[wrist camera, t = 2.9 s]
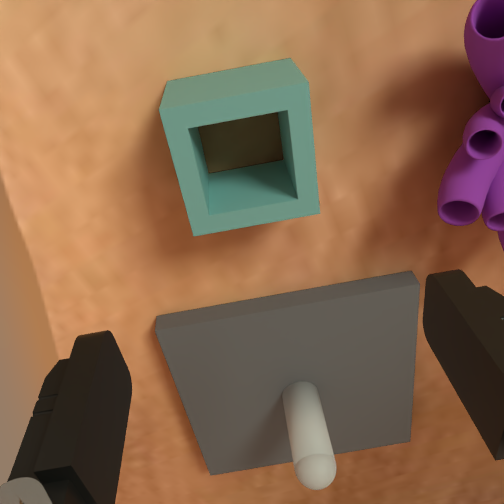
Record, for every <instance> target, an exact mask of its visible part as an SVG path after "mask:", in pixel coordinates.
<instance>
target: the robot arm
mask: <svg viewBox="0 0 504 504" xmlns="http://www.w3.org/2000/svg"><path fill="white" fill-rule="evenodd" d="M423 328H424V332H425V336H426V339H427V341H428V343H429V345H430V347H431V349H432V350H433V352H434V354H435V356H436V357H437V359H438V361H439V363H440V364H441V366H442V368H443V370H444V371H445V373H446V375H447V377H448V378H449V380H450V382H451V384H452V385H453V387H454V389H455V391H456V392H457V394H458V396H459V398H460V399H461V401H462V403H463V405H464V406H465V408H466V410H467V412H468V413H469V415H470V417H471V419H472V420H473V422H474V424H475V426H476V427H477V429H478V431H479V433H480V434H481V436H482V438H483V440H484V441H485V443H486V445H487V447H488V448H489V450H490V452H491V454H492V455H493V457H494V459H495V460H501V459H504V296H502V295H501V294H499V293H497V292H496V291H494V290H492V289H491V288H489V287H487V286H482V287H477V288H476V287H475V285H474V284H473V283H472V282H471V280H470V279H469V278H468V277H467V275H466V274H465V273H464V272H463V271H462V270H459V269H458V270H452V271H446V272H441V273H435V274H430V275H428V276H427V279H426V286H425V298H424V310H423ZM131 396H132V382H131V376H130V372H129V370H128V367H127V365H126V363H125V361H124V358H123V356H122V354H121V352H120V349H119V347H118V345H117V343H116V341H115V338H114V336H113V334H112V333H111V332H110V331H108V330H107V331H102V332H96V333H90V334H85V335H79V336H78V337H77V338H76V340H75V343H74V346H73V349H72V352H71V355H70V358H68V359H63V360H59V361H58V362H57V364H56V365H55V366H54V368H53V369H52V370H51V371H50V373H49V374H48V375H47V376H46V378H45V380H44V383H43V385H42V388H41V391H40V394H39V396H38V398H39V400H38V401H37V402H36V405H35V407H34V410H33V417H31V419H30V421H29V424H28V427H27V430H26V432H25V435H24V438H23V441H22V443H21V447H20V449H19V452H18V455H17V457H16V460H15V463H14V466H13V468H12V471H11V474H10V476H9V479H8V481H7V483H4V484H3V485H1V486H0V504H115V499H116V493H117V486H118V480H119V473H120V467H121V461H122V454H123V448H124V441H125V435H126V428H127V422H128V415H129V409H130V403H131Z"/></svg>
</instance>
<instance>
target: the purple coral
mask: <svg viewBox="0 0 504 504" xmlns="http://www.w3.org/2000/svg"><path fill="white" fill-rule="evenodd" d="M464 43H465V49H466V53H467V57H468V60H469V63H470V66H471V68H472V70H473V72H474V74H475V76H476V78H477V80H478V82H479V83H480V85H481V87H482V88H483V90H484V91H485V93H486V94H487V96H488V97H489V99H490V103H488V104H487V105H485V106H484V107H482V108H481V109H479V110H478V111H477V112H476V113H475V114H474V115H473V116H472V117H471V118H470V119H469V121H468V122H467V124H466V126H465V129H464V133H463V144H462V145H461V146H460V148H459V149H458V150H457V152H456V153H455V154H454V156H453V158H452V160H451V162H450V163H449V165H448V167H447V169H446V171H445V173H444V175H443V178H442V181H441V185H440V188H439V192H438V200H437V205H438V214H439V216H440V218H441V219H442V220H443V221H444V222H446V223H448V224H451V225H455V226H464V225H468V224H471V223H473V222H474V221H476V220H477V219H478V218H479V216H480V214H481V213H482V217H483V220H484V223H485V225H486V226H487V227H488V228H489V229H491V230H494V231H497V232H498V236H499V240H500V242H501V245H502V248H503V251H504V0H477V1H476V2H475V3H474V4H473V6H472V8H471V10H470V12H469V14H468V17H467V20H466V24H465V30H464Z"/></svg>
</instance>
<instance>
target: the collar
mask: <svg viewBox="0 0 504 504" xmlns="http://www.w3.org/2000/svg"><path fill="white" fill-rule="evenodd" d="M159 112H160V116H161V120H162V123H163V127H164V131H165V134H166V138H167V141H168V145H169V149H170V152H171V156H172V160H173V163H174V167H175V171H176V174H177V178H178V181H179V185H180V189H181V192H182V196H183V200H184V203H185V207H186V211H187V214H188V218H189V221H190V225H191V229H192V232H193V236H199V235H205V234H210V233H216V232H221V231H227V230H232V229H238V228H243V227H249V226H254V225H260V224H265V223H271V222H276V221H282V220H288V219H293V218H299V217H304V216H310V215H315V214H320V207H319V196H318V184H317V172H316V161H315V149H314V138H313V126H312V115H311V103H310V92H309V82H308V80H307V79H306V78H305V76H304V75H303V74H302V73H301V71H300V70H299V69H298V67H297V66H296V65H295V63H294V62H293V61H292V59H291V58H288V59H282V60H277V61H272V62H266V63H261V64H256V65H251V66H245V67H240V68H235V69H229V70H224V71H219V72H213V73H208V74H203V75H197V76H192V77H187V78H181V79H176V80H171V81H167V84H166V87H165V91H164V94H163V97H162V101H161V104H160V108H159ZM274 112H278V119H279V127H280V135H281V143H282V150H283V158H284V160H280V161H275V162H269V163H264V164H258V165H253V166H247V167H242V168H236V169H231V170H226V171H220V172H215V173H208V169H207V164H206V160H205V156H204V151H203V147H202V143H201V138H200V134H199V130H198V127H199V126H204V125H209V124H215V123H220V122H226V121H231V120H236V119H242V118H247V117H252V116H258V115H263V114H269V113H274Z"/></svg>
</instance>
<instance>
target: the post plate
mask: <svg viewBox="0 0 504 504" xmlns="http://www.w3.org/2000/svg"><path fill="white" fill-rule="evenodd" d="M419 292H420V283H419V282H418V280H417V278H416V277H415V275H414V274H413V272H412V271H407V272H401V273H396V274H390V275H384V276H379V277H373V278H368V279H362V280H356V281H351V282H345V283H340V284H334V285H328V286H323V287H317V288H311V289H306V290H300V291H295V292H289V293H283V294H278V295H272V296H266V297H261V298H255V299H250V300H244V301H238V302H233V303H227V304H222V305H216V306H210V307H205V308H199V309H193V310H188V311H182V312H177V313H171V314H165V315H160V316H157V318H156V326H155V333H156V335H157V338H158V341H159V343H160V346H161V348H162V351H163V353H164V356H165V359H166V361H167V364H168V366H169V369H170V372H171V374H172V377H173V379H174V382H175V385H176V387H177V390H178V392H179V395H180V398H181V400H182V403H183V405H184V408H185V411H186V413H187V416H188V418H189V421H190V424H191V426H192V429H193V431H194V434H195V436H196V439H197V442H198V444H199V447H200V449H201V452H202V455H203V457H204V460H205V462H206V465H207V468H208V470H209V473H210V475H217V474H223V473H229V472H235V471H241V470H246V469H252V468H258V467H264V466H270V465H276V464H282V463H287V462H293V463H294V469H295V473H296V476H297V478H298V480H299V481H300V482H301V483H302V484H303V485H304V486H305V487H307V488H309V489H313V490H320V489H324V488H326V487H327V486H329V485H330V484H331V483H332V481H333V480H334V477H335V475H336V461H335V457H334V454H340V453H346V452H352V451H358V450H364V449H370V448H375V447H381V446H387V445H393V444H399V443H405V442H410V438H411V422H412V406H413V389H414V373H415V357H416V341H417V324H418V308H419Z"/></svg>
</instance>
